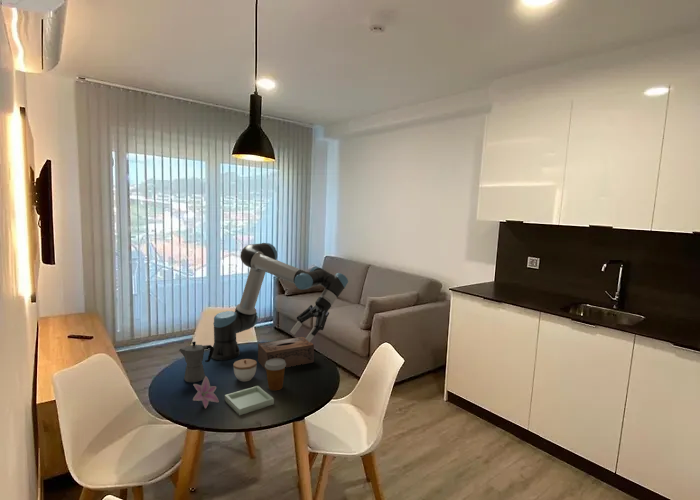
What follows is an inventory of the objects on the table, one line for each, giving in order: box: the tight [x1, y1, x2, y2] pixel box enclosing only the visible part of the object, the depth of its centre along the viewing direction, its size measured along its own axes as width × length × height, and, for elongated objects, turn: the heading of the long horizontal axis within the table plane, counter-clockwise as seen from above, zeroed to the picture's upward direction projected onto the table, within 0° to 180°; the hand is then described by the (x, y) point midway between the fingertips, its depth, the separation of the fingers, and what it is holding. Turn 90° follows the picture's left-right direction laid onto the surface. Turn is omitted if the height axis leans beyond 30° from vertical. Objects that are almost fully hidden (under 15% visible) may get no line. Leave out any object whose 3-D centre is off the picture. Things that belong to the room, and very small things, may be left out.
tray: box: [224, 385, 275, 416], centre depth 164 cm, size 15×15×2 cm
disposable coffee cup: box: [265, 359, 286, 391], centre depth 178 cm, size 10×10×12 cm
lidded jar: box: [233, 358, 258, 382], centre depth 187 cm, size 11×11×9 cm
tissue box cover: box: [257, 336, 315, 371], centre depth 209 cm, size 26×14×10 cm, turn 120°
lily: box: [192, 375, 220, 409], centre depth 163 cm, size 12×12×10 cm
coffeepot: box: [178, 341, 214, 383], centre depth 186 cm, size 15×9×18 cm, turn 110°
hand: (299, 336), depth 184 cm, fingers open, 13 cm apart
